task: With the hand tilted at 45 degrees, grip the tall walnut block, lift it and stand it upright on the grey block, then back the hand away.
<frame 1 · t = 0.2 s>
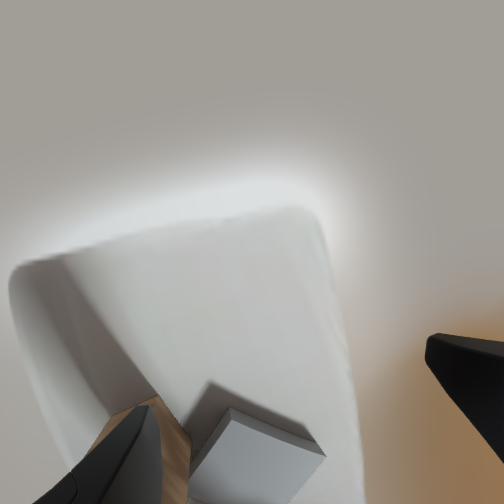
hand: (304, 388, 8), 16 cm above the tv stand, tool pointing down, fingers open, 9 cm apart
walnut block: (151, 429, 22), on the tv stand
grey block: (249, 463, 23), on the tv stand
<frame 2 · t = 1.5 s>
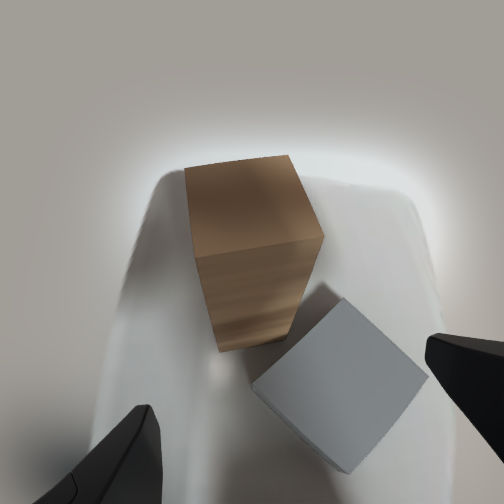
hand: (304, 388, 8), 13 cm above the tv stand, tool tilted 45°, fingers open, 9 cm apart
walnut block: (245, 316, 24), on the tv stand
grey block: (338, 389, 21), on the tv stand
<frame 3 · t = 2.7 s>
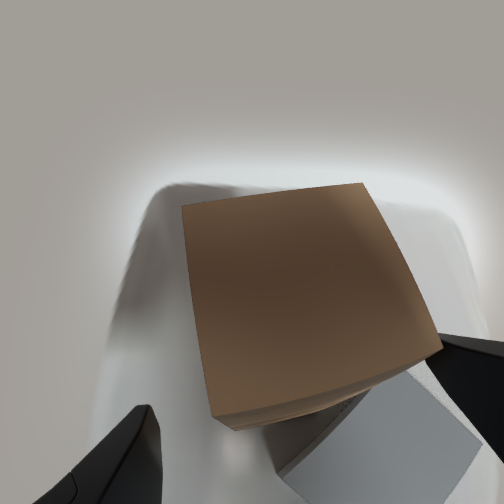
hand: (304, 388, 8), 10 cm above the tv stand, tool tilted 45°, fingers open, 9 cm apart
walnut block: (267, 383, 17), on the tv stand
grey block: (380, 465, 14), on the tv stand
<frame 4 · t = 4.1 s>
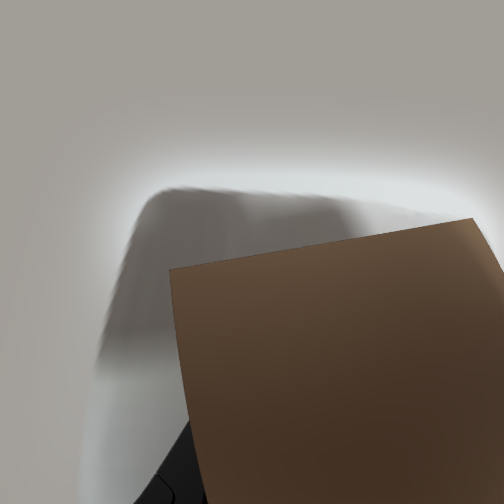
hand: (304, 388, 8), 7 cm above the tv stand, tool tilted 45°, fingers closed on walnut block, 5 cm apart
walnut block: (285, 434, 14), on the tv stand, touching gripper
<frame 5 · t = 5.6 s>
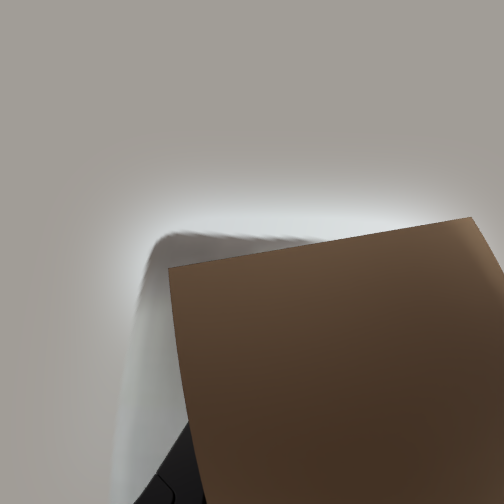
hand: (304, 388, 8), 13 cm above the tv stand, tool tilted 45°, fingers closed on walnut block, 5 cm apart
walnut block: (285, 433, 14), point 6 cm above the tv stand, touching gripper
when the fingers open (10 cm above the tv stand, at t = 7.4 s): walnut block stays where it is, resting on grey block.
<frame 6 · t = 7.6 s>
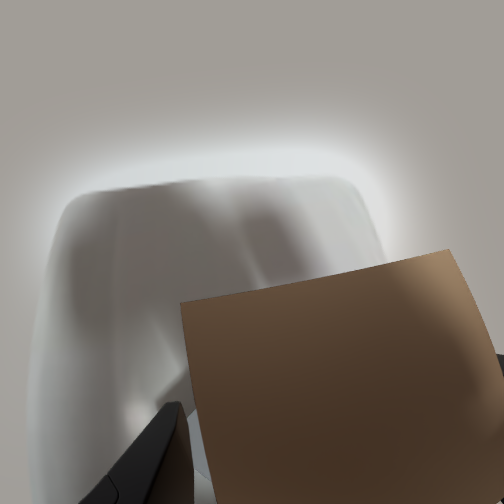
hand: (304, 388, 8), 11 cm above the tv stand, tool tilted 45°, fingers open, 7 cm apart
walnut block: (282, 434, 14), point 2 cm above the tv stand, touching grey block
grey block: (278, 434, 16), on the tv stand
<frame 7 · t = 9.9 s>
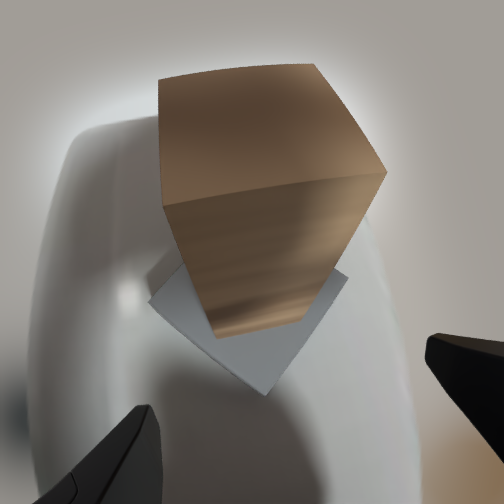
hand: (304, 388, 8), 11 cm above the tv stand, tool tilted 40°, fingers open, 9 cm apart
walnut block: (249, 291, 19), point 2 cm above the tv stand, touching grey block
grey block: (249, 303, 21), on the tv stand
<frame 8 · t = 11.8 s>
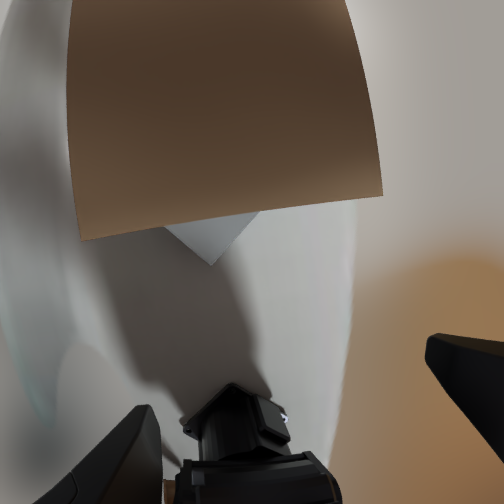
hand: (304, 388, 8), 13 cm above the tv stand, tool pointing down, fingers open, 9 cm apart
walnut block: (204, 154, 17), point 2 cm above the tv stand, touching grey block
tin: (180, 501, 25), on the tv stand
grey block: (203, 159, 19), on the tv stand
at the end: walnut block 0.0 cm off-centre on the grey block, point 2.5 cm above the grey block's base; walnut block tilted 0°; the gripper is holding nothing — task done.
